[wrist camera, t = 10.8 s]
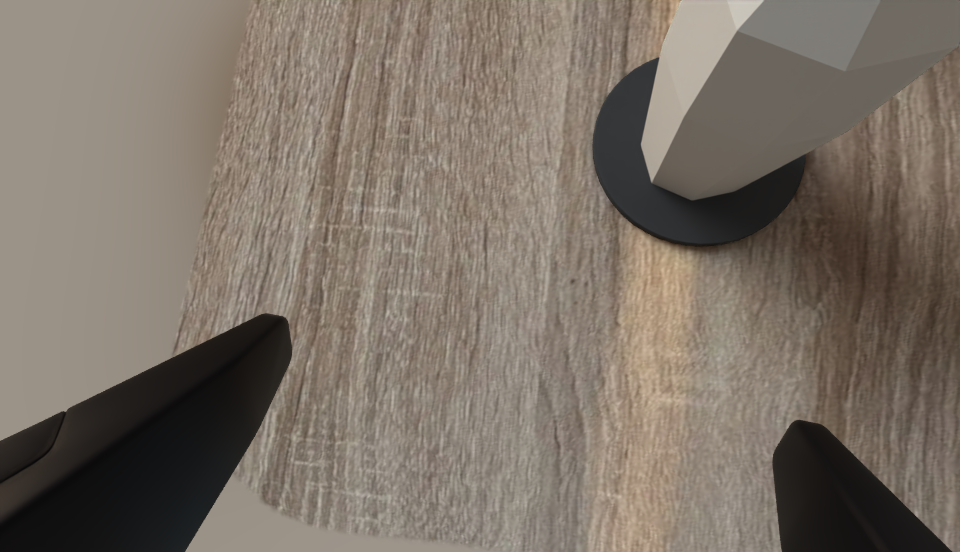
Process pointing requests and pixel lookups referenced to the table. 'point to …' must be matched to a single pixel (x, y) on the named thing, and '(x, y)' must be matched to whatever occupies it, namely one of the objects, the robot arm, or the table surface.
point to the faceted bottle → (779, 81)
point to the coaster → (662, 208)
